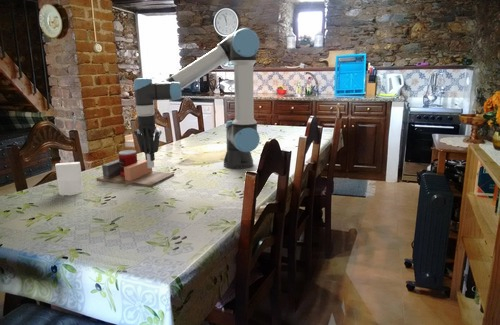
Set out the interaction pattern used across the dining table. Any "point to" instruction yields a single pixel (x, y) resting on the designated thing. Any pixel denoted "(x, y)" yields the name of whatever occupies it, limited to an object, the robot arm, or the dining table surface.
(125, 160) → the canned food
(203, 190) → the dining table surface
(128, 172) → the block
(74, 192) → the white upright block
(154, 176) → the vise base
